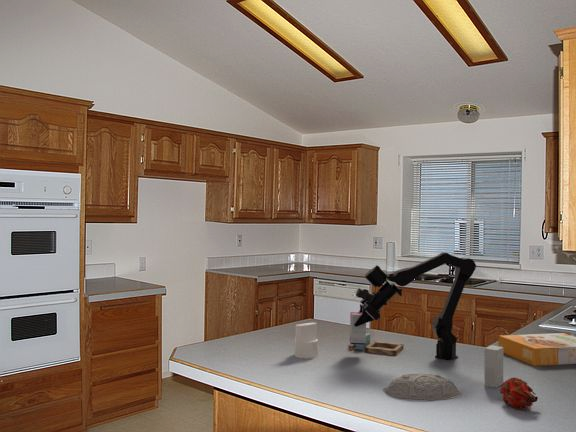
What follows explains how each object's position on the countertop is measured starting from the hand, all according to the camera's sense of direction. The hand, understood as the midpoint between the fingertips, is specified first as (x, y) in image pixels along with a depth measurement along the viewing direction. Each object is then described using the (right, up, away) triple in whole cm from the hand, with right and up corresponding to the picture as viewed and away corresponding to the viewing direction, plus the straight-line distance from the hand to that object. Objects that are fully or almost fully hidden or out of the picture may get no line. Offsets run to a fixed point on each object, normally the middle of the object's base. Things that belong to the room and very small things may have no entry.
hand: (354, 324), depth 215 cm
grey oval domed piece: (+15, -13, -44) cm, 48 cm away
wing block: (+5, -12, +13) cm, 18 cm away
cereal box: (+62, -10, -1) cm, 62 cm away
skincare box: (+41, -13, -36) cm, 56 cm away
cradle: (+10, -12, +11) cm, 19 cm away
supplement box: (+1, -7, 0) cm, 8 cm away
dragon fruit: (+40, -13, -56) cm, 70 cm away
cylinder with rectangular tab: (-19, -12, 0) cm, 22 cm away
